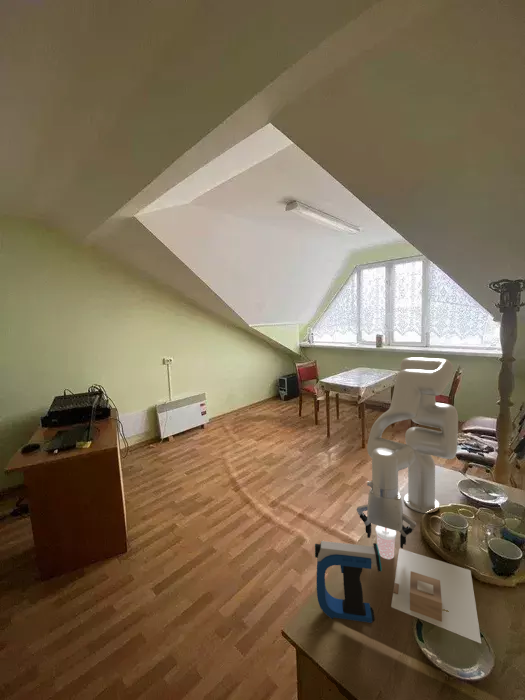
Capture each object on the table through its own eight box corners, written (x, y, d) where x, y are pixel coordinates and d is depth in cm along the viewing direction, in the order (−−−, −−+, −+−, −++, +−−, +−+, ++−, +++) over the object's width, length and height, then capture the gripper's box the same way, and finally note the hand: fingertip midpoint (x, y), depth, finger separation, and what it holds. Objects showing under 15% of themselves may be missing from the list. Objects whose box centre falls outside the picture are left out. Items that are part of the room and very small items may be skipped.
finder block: (410, 587, 81) (410, 570, 81) (440, 597, 78) (440, 579, 78) (409, 609, 75) (409, 591, 75) (441, 621, 72) (441, 602, 71)
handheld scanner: (383, 630, 72) (382, 555, 70) (317, 620, 75) (314, 548, 74) (380, 612, 76) (378, 541, 75) (317, 603, 80) (314, 535, 78)
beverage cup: (374, 547, 97) (374, 508, 96) (394, 550, 96) (394, 510, 94) (376, 562, 92) (376, 520, 90) (398, 566, 90) (397, 523, 88)
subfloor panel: (390, 548, 97) (390, 544, 96) (481, 577, 85) (481, 572, 84) (380, 606, 78) (380, 601, 78) (495, 654, 66) (495, 647, 66)
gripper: (353, 488, 92) (354, 538, 94) (415, 502, 84) (415, 558, 85) (359, 476, 99) (359, 524, 100) (416, 489, 90) (416, 541, 92)
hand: (385, 540), depth 93 cm, fingers open, 9 cm apart
